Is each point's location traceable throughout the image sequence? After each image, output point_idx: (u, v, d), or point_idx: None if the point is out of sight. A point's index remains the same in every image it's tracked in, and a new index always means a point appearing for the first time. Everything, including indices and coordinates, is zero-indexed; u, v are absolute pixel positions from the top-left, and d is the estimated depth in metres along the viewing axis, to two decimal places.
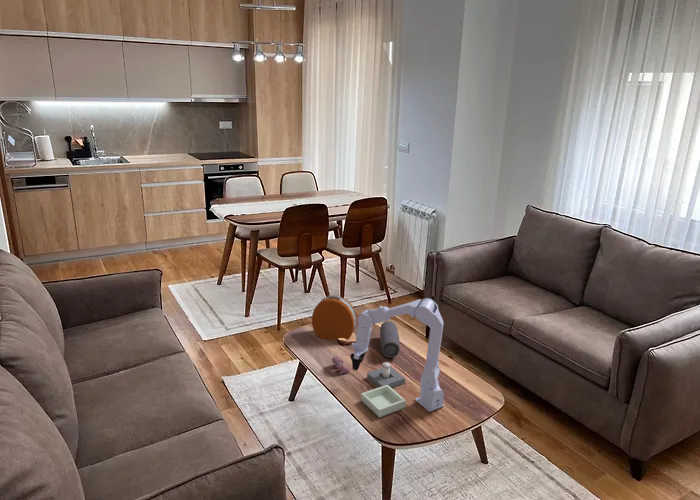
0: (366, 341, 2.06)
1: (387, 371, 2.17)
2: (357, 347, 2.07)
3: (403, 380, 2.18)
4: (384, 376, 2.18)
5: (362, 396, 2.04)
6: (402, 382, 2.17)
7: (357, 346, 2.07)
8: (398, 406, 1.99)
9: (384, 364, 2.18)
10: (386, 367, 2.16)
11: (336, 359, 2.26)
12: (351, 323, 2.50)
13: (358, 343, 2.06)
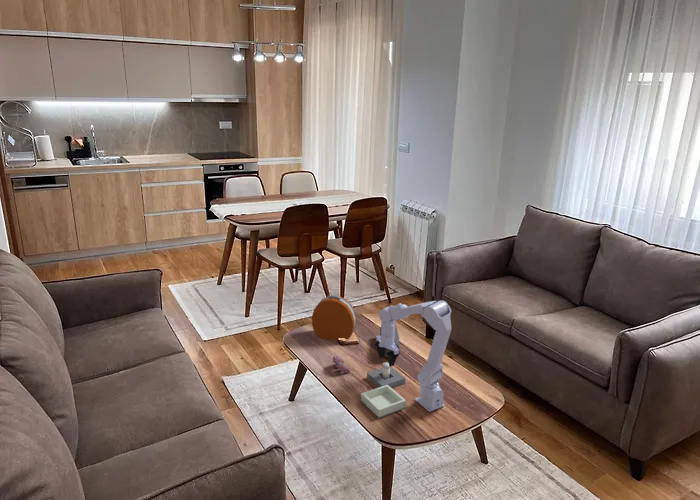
0: None
1: (387, 371, 2.17)
2: (389, 344, 2.12)
3: (403, 380, 2.18)
4: (384, 376, 2.18)
5: (362, 396, 2.04)
6: (402, 382, 2.17)
7: (388, 343, 2.12)
8: (398, 406, 1.99)
9: (384, 364, 2.18)
10: (386, 367, 2.16)
11: (337, 359, 2.26)
12: (351, 323, 2.50)
13: (389, 339, 2.11)
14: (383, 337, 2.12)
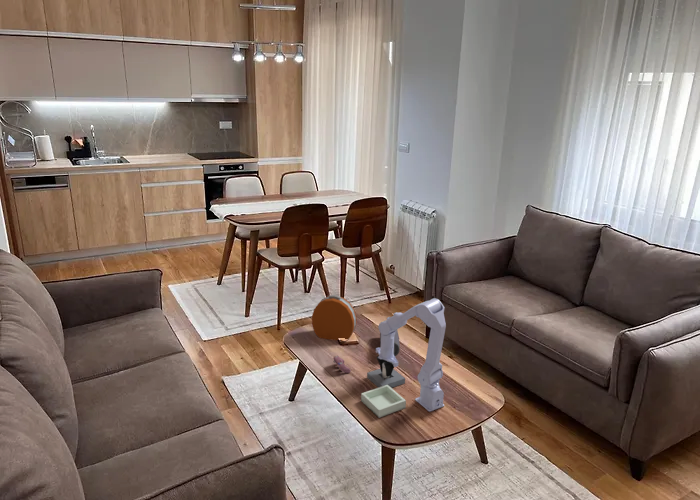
0: (393, 347, 2.15)
1: None
2: (388, 356, 2.14)
3: (403, 380, 2.18)
4: (384, 376, 2.18)
5: (362, 396, 2.04)
6: (402, 382, 2.17)
7: (388, 356, 2.14)
8: (398, 406, 1.99)
9: None
10: None
11: (337, 359, 2.26)
12: (351, 323, 2.50)
13: (389, 352, 2.13)
14: (383, 349, 2.13)
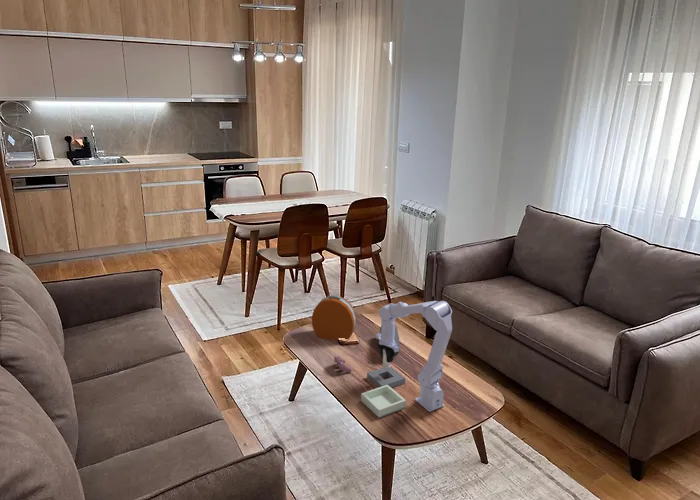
0: (394, 332, 2.13)
1: None
2: (389, 342, 2.11)
3: (403, 380, 2.18)
4: (385, 362, 2.16)
5: (362, 396, 2.04)
6: (402, 382, 2.17)
7: (388, 341, 2.11)
8: (398, 406, 1.99)
9: None
10: None
11: (338, 359, 2.27)
12: (351, 323, 2.50)
13: (389, 337, 2.11)
14: (383, 335, 2.11)
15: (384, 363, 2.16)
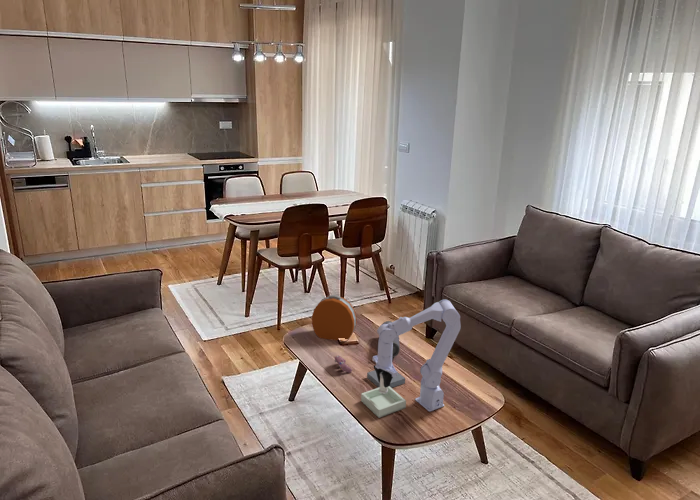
0: None
1: None
2: (386, 366, 1.95)
3: (403, 380, 2.18)
4: (382, 387, 2.00)
5: (362, 396, 2.04)
6: (402, 382, 2.17)
7: (386, 365, 1.95)
8: (398, 406, 1.99)
9: None
10: None
11: (339, 358, 2.27)
12: (351, 323, 2.50)
13: (387, 360, 1.94)
14: (380, 358, 1.95)
15: (381, 388, 2.00)
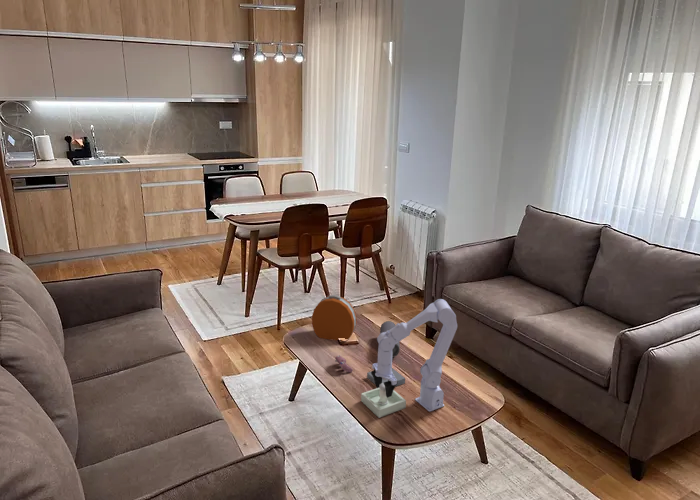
0: (391, 363, 1.97)
1: (385, 393, 2.01)
2: (386, 374, 1.96)
3: (403, 380, 2.18)
4: (381, 398, 2.01)
5: (362, 396, 2.04)
6: (402, 382, 2.17)
7: (385, 373, 1.96)
8: (398, 406, 1.99)
9: (381, 385, 2.01)
10: (384, 389, 2.00)
11: (339, 358, 2.27)
12: (351, 323, 2.50)
13: (387, 368, 1.95)
14: (380, 366, 1.96)
15: (381, 399, 2.02)
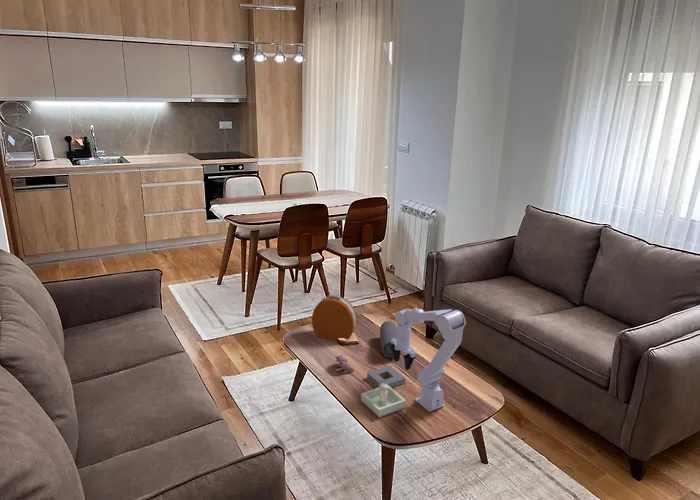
0: (410, 337, 2.10)
1: (385, 393, 2.01)
2: (405, 347, 2.09)
3: (403, 380, 2.18)
4: (381, 398, 2.01)
5: (362, 396, 2.04)
6: (402, 382, 2.17)
7: (404, 347, 2.09)
8: (398, 406, 1.99)
9: (381, 385, 2.01)
10: (384, 389, 2.00)
11: (340, 358, 2.27)
12: (351, 323, 2.50)
13: (406, 342, 2.08)
14: (399, 340, 2.08)
15: (381, 399, 2.02)
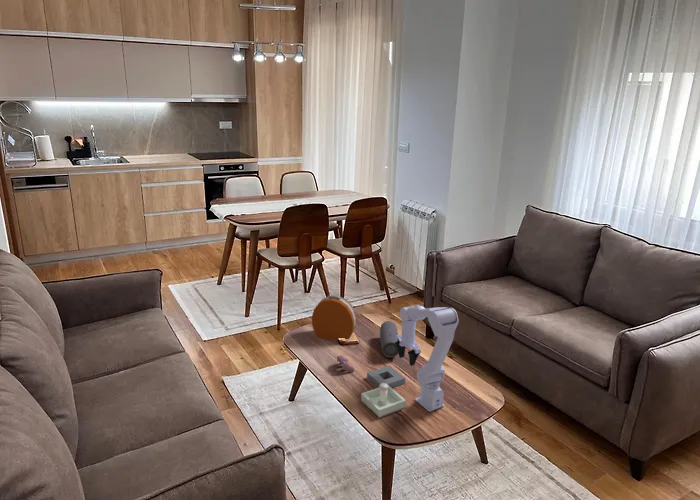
0: (414, 334, 2.14)
1: (385, 393, 2.01)
2: (409, 343, 2.13)
3: (403, 380, 2.18)
4: (381, 398, 2.01)
5: (362, 396, 2.04)
6: (402, 382, 2.17)
7: (409, 343, 2.12)
8: (398, 406, 1.99)
9: (381, 385, 2.01)
10: (384, 389, 2.00)
11: (341, 358, 2.27)
12: (351, 323, 2.50)
13: (410, 338, 2.12)
14: (404, 336, 2.12)
15: (381, 399, 2.02)
